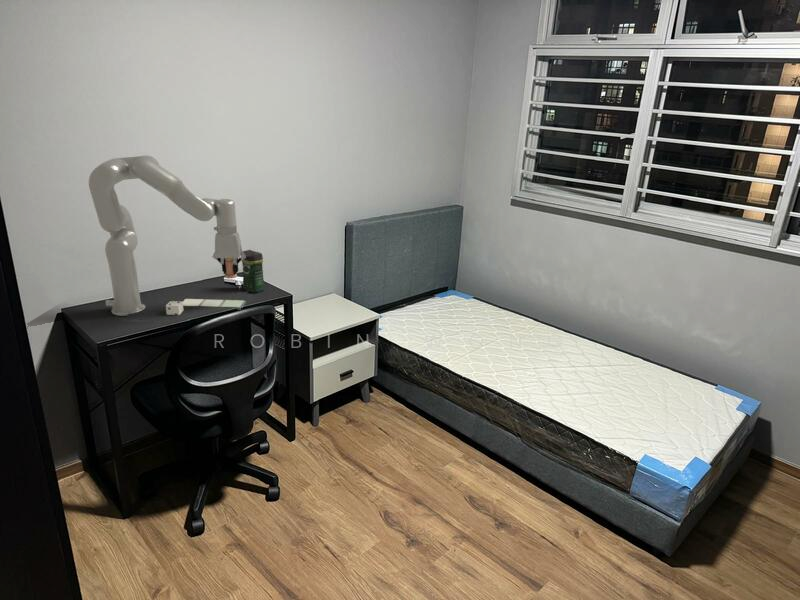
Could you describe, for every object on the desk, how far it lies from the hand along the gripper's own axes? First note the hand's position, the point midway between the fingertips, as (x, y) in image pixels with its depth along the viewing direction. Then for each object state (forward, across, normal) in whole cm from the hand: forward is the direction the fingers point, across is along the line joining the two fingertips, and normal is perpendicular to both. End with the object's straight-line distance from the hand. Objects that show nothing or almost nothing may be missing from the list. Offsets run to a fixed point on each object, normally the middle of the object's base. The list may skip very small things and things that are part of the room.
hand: (230, 272), depth 233 cm
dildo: (+2, 0, 0) cm, 2 cm away
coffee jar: (+15, +4, +21) cm, 26 cm away
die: (+15, -20, -12) cm, 28 cm away
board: (+15, -9, 0) cm, 17 cm away
